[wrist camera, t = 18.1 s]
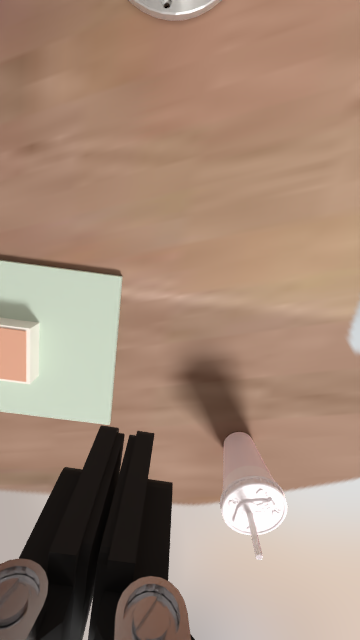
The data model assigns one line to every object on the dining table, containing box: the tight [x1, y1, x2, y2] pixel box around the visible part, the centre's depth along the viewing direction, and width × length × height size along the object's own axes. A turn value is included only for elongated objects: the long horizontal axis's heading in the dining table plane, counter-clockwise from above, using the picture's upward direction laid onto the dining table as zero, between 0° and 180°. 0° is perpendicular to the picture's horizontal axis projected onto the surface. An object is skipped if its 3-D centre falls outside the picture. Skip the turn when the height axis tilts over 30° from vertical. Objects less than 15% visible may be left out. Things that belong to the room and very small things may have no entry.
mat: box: [0, 260, 122, 425], centre depth 37 cm, size 18×20×1 cm
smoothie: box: [220, 432, 287, 560], centre depth 33 cm, size 6×6×14 cm
